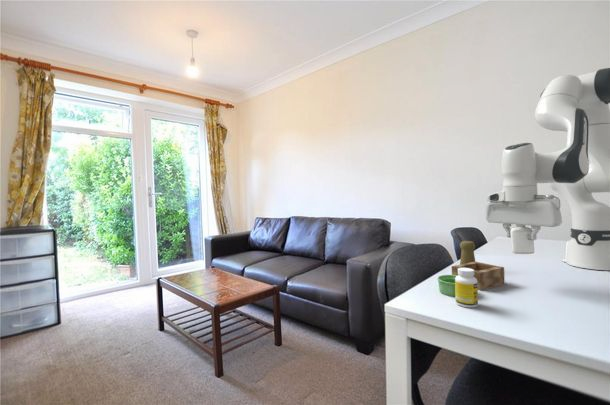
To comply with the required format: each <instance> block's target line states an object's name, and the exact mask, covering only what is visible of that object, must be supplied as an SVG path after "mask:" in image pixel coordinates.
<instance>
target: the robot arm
mask: <svg viewBox="0 0 610 405" xmlns="http://www.w3.org/2000/svg"><path fill="white" fill-rule="evenodd" d="M609 104H610V67H606V68H600V69H598V70H595V71H590V72H586V73H582V74H579V75H572V74H564V75H559V76H556V77H555V78H553V79H552V80H550V82H549V83H548V84H547V86H546V87H545V88H544V89H543V90H542V92H541V93H540V96H539V100H538V103H537V105H536V108H535V111H534V120H535V122H536V123H537V124H538V125H539V126H540V127H542V128H544V129H546V130H549V131H554V132H556V131H557V132H564V133H565V132H566V133H567V134H566V137H567V138H566V146H565V147H564V148H562V149H559V150H556V151H549V152H542V153H539V152H536V151H535V148H534V145H533V143H531V142H523V143H522V142H521V143H516V144H513V145H512V144H511V145H509V146H506V147H505V148H504V149H503V150H502V156H501V175H502V180H503V182H502V187H501V189H502V190H500V191H497V192H494V193H491V194H488V195H487V196H486V200H487V203H486V207H485V220H486V221H487V222H488V223H490V224H491V223H493V224H502V228H503V229H504V231H505V233H506V238H510V239H511V234H510V230H511V229H512V228H511V226H512V225H516V224H517V225H526V226H530V227H531V229H532V230H533V231H532V233H531V234H528V240H534V241H536V240H537V234H538V233H539V232H540V230H541V229H542V228H541V227H547V228H555V227H559V226H560V225H561V224H562V223H563V218H562V212H561V200H560V198H559V197H557V196H556V195H554V194H546V195H545V194H539V193H538V184H549V188H551V189H552V190H553V191H554V192H556V193H558V194H559V195H560V196H562V197H563V199H565V201H566V202H567V205H568V206H569V208H570V213H571V214H570V215H571V228H570V231H569V233H570V237H571V239H569V240H568V241H566V248H565V257H562V258H561V261H562V262H564V263H566V264H568V265H570V266H573V267H577V268H583V269H587V270H596V271H610V206H609V205H608V204H605V203H603V202H600V201H598V200H596V199H595V198H594V196H593V194H594V193H610V105H609ZM592 193H593V194H592Z"/></svg>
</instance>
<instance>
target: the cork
mask: <svg viewBox="0 0 610 405" xmlns="http://www.w3.org/2000/svg"><path fill="white" fill-rule="evenodd" d="M459 248H460V249H461V252H460V261H459V265H460V264H465V263H470V262H476V257H475V252H474V251H475V248H476V244H475V242H474V241H471V240H464V241H460V244H459Z"/></svg>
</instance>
